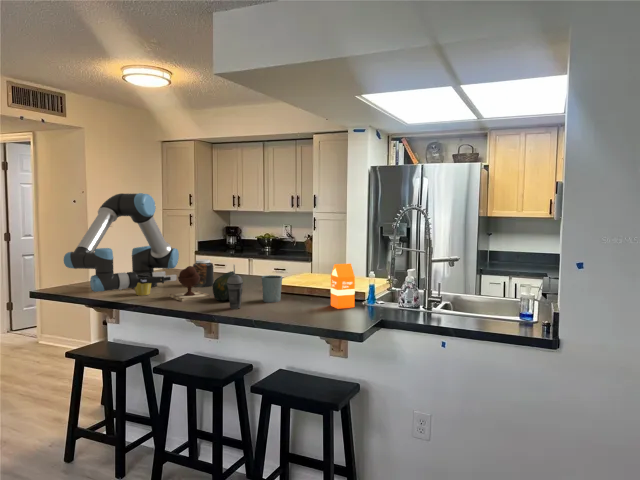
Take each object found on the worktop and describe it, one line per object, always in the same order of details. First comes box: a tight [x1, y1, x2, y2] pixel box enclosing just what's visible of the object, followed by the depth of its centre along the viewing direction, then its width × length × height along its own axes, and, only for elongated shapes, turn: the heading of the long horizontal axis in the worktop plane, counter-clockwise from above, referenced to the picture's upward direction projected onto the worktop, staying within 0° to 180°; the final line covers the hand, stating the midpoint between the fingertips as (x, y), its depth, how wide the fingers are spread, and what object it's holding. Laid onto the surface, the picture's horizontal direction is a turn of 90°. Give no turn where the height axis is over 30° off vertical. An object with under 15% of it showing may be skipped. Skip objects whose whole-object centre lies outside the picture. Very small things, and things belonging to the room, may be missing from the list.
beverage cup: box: [227, 264, 244, 310], centre depth 222 cm, size 7×7×20 cm
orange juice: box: [330, 262, 356, 310], centre depth 226 cm, size 8×9×20 cm
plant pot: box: [134, 283, 152, 297], centre depth 255 cm, size 10×10×10 cm
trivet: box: [169, 290, 211, 302], centre depth 248 cm, size 15×15×2 cm
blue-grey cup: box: [261, 274, 283, 303], centre depth 240 cm, size 10×10×12 cm
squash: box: [212, 270, 243, 302], centre depth 242 cm, size 14×15×15 cm
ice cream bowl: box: [177, 265, 200, 296], centre depth 247 cm, size 11×11×15 cm
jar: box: [192, 258, 215, 288], centre depth 284 cm, size 12×12×15 cm
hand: (170, 275), depth 241 cm, fingers open, 13 cm apart
